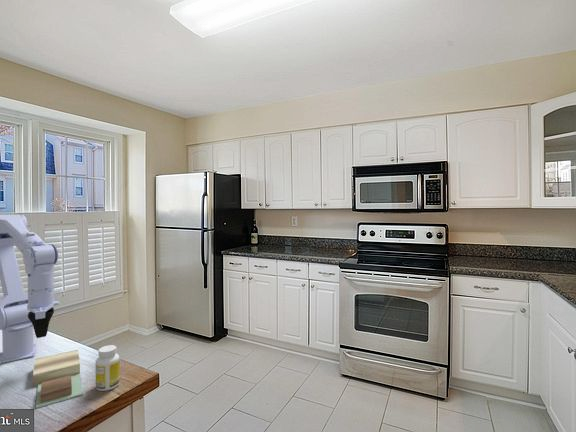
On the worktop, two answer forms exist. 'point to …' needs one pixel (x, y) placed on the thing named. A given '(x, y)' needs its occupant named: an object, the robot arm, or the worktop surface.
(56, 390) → the walnut coaster
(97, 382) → the supplement bottle
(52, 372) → the birch board
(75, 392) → the green mat
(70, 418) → the worktop surface
